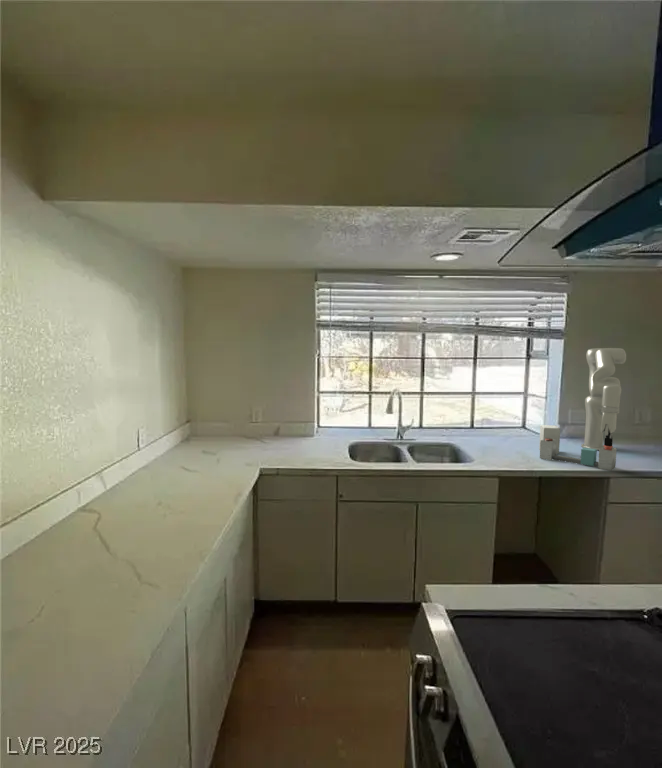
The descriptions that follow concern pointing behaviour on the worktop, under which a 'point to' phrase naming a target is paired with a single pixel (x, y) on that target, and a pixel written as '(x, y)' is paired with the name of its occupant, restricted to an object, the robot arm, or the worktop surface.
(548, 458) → the cabinet
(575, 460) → the rail
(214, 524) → the worktop surface
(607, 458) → the cabinet
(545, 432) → the supplement box
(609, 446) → the knob
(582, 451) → the carriage
